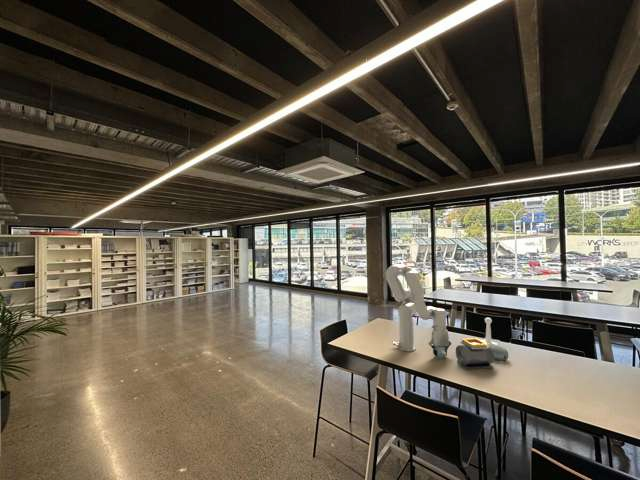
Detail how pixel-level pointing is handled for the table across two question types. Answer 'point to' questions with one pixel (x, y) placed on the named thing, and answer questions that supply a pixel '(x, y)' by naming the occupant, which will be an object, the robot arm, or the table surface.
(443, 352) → the pump
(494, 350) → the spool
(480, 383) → the table surface
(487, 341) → the joystick
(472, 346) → the motor
